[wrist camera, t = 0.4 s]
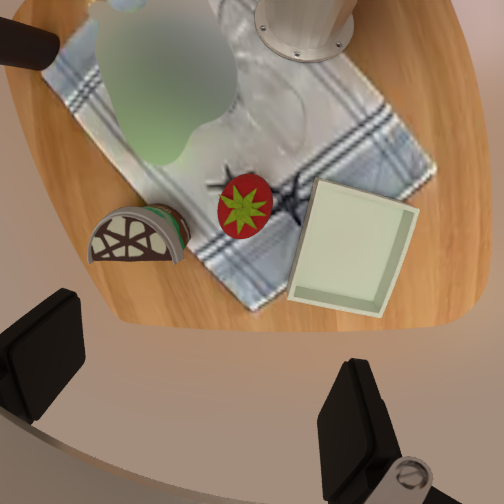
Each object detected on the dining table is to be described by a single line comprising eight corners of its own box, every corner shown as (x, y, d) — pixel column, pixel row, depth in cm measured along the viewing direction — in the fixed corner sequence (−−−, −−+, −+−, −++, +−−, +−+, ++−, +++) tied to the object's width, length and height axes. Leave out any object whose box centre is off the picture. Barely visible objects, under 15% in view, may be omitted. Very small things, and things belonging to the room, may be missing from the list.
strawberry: (218, 217, 41) (199, 239, 31) (237, 163, 38) (223, 168, 29) (261, 233, 41) (254, 260, 31) (282, 179, 38) (282, 190, 29)
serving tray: (315, 176, 38) (318, 180, 34) (408, 203, 38) (419, 209, 34) (286, 286, 43) (287, 299, 39) (373, 304, 43) (381, 318, 39)
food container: (197, 192, 40) (172, 206, 30) (201, 237, 42) (178, 264, 32) (115, 198, 41) (75, 213, 32) (121, 239, 43) (84, 264, 34)
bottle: (38, 78, 35) (-55, 69, 17) (28, 54, 34) (-58, 40, 15) (65, 50, 34) (-28, 26, 15) (53, 26, 32) (-32, -1, 13)
